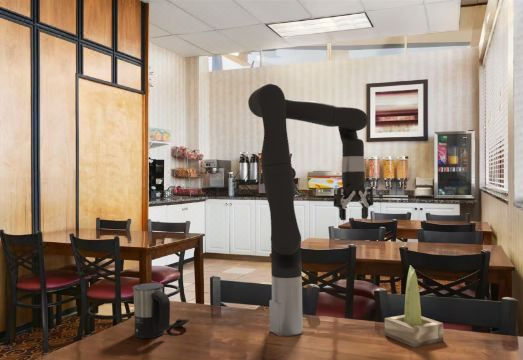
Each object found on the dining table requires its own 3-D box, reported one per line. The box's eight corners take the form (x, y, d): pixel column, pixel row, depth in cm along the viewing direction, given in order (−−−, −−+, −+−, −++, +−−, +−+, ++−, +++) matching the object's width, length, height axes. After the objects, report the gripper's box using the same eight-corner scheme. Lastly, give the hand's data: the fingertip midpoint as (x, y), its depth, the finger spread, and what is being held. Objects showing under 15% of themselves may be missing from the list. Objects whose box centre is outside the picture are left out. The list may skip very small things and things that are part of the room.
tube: (427, 335, 143) (425, 267, 143) (416, 338, 140) (414, 269, 140) (411, 330, 148) (410, 264, 148) (400, 333, 145) (398, 266, 145)
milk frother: (126, 336, 150) (126, 287, 150) (158, 322, 164) (157, 277, 164) (166, 342, 144) (165, 291, 144) (195, 327, 158) (194, 280, 158)
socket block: (413, 347, 136) (413, 329, 136) (384, 335, 147) (384, 318, 147) (443, 340, 141) (443, 323, 141) (413, 329, 152) (413, 313, 152)
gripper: (363, 170, 171) (364, 217, 171) (328, 170, 164) (329, 219, 165) (377, 170, 164) (378, 219, 164) (341, 170, 158) (342, 221, 158)
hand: (353, 219), depth 164 cm, fingers open, 8 cm apart
